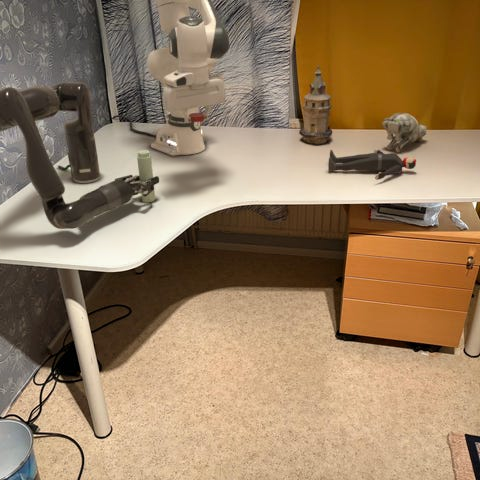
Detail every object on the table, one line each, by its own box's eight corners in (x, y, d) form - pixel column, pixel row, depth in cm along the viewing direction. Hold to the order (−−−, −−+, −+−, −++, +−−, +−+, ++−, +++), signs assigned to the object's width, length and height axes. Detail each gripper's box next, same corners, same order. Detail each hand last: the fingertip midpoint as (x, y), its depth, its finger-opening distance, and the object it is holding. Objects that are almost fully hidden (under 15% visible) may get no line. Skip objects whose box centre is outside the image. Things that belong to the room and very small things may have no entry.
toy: (331, 141, 202) (414, 142, 196) (330, 157, 205) (412, 158, 199) (326, 167, 180) (420, 168, 174) (326, 184, 183) (418, 186, 177)
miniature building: (320, 132, 228) (325, 59, 214) (338, 142, 217) (344, 66, 203) (293, 137, 224) (296, 63, 209) (310, 147, 213) (314, 69, 198)
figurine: (412, 164, 205) (438, 136, 214) (399, 121, 196) (426, 94, 205) (390, 163, 212) (416, 137, 221) (377, 122, 203) (404, 96, 212)
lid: (201, 117, 170) (201, 112, 169) (206, 121, 166) (205, 116, 165) (187, 118, 169) (187, 113, 168) (191, 122, 165) (191, 117, 164)
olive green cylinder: (142, 203, 170) (137, 154, 162) (141, 197, 174) (135, 150, 166) (156, 201, 171) (151, 153, 163) (154, 196, 175) (149, 148, 167)
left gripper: (126, 189, 154) (168, 171, 166) (94, 178, 161) (135, 161, 173) (129, 213, 157) (170, 193, 169) (97, 201, 165) (138, 183, 177)
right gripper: (218, 69, 168) (220, 113, 175) (158, 78, 159) (162, 123, 165) (229, 73, 163) (230, 117, 170) (168, 82, 154) (171, 129, 161)
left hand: (152, 177), depth 171 cm, fingers closed on olive green cylinder, 4 cm apart
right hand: (196, 120), depth 168 cm, fingers closed on lid, 5 cm apart
